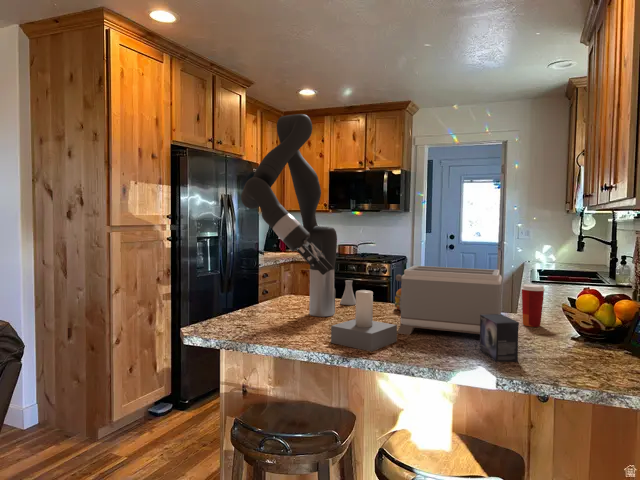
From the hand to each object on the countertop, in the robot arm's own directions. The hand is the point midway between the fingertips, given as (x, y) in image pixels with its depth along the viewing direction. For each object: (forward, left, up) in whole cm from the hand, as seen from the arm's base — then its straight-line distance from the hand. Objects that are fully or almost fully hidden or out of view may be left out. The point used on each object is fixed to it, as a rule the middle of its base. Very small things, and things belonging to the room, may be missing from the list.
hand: (328, 271), depth 141 cm
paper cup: (-63, +42, -21) cm, 79 cm away
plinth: (-5, +10, -21) cm, 23 cm away
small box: (-17, +45, -21) cm, 52 cm away
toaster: (-35, +23, -21) cm, 46 cm away
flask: (-53, -29, -21) cm, 64 cm away
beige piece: (-5, +10, -16) cm, 19 cm away
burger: (-58, -2, -21) cm, 62 cm away
